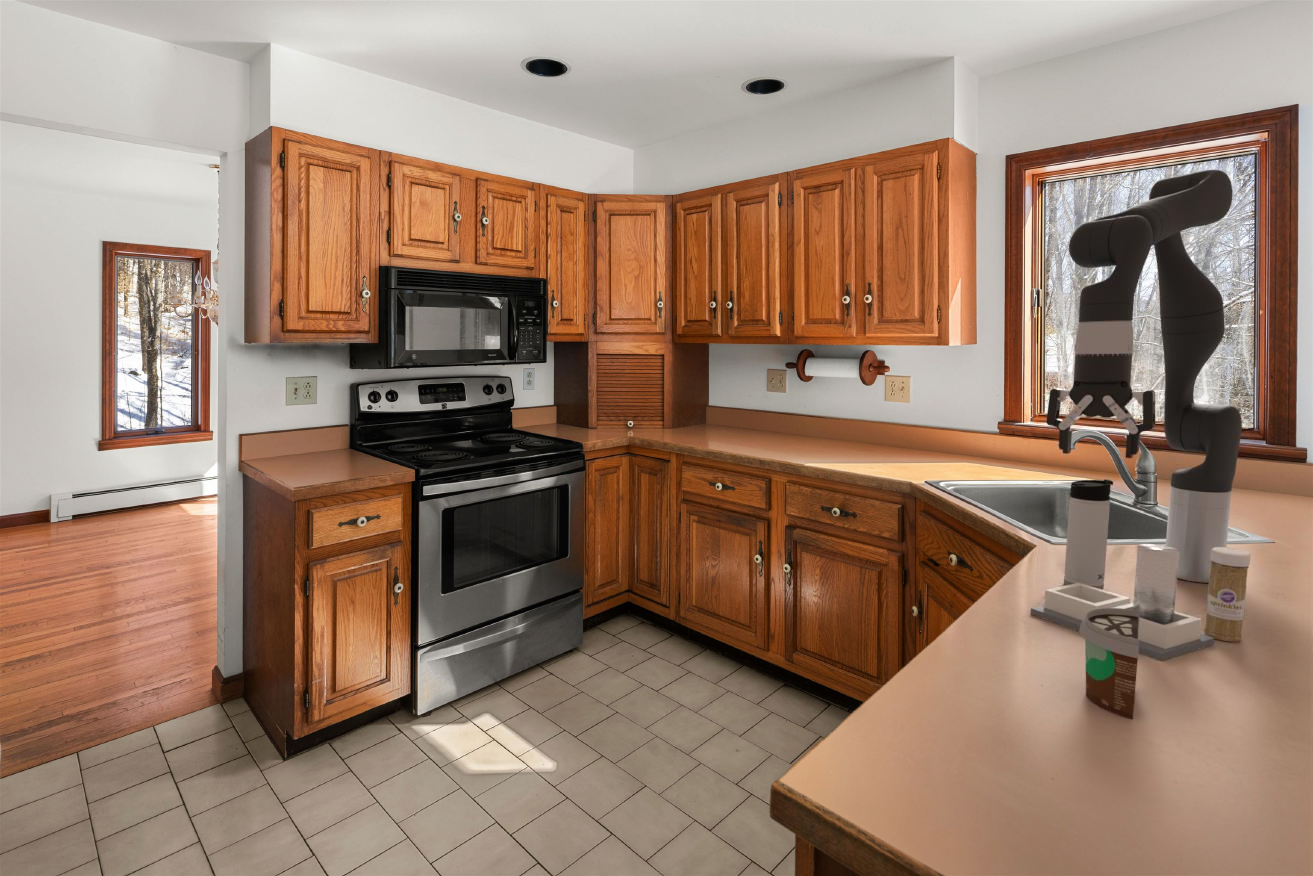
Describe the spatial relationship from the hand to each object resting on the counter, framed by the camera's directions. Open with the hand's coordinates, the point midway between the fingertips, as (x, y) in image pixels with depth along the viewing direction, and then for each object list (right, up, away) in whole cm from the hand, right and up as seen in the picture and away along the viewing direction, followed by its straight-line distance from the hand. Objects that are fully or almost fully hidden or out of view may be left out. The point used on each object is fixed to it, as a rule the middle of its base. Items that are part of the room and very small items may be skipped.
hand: (1096, 455), depth 111 cm
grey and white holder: (+2, -27, -1) cm, 27 cm away
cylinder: (+5, -27, -6) cm, 28 cm away
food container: (-14, -30, -23) cm, 40 cm away
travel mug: (+9, -25, +19) cm, 33 cm away
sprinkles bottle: (+16, -28, -4) cm, 32 cm away
